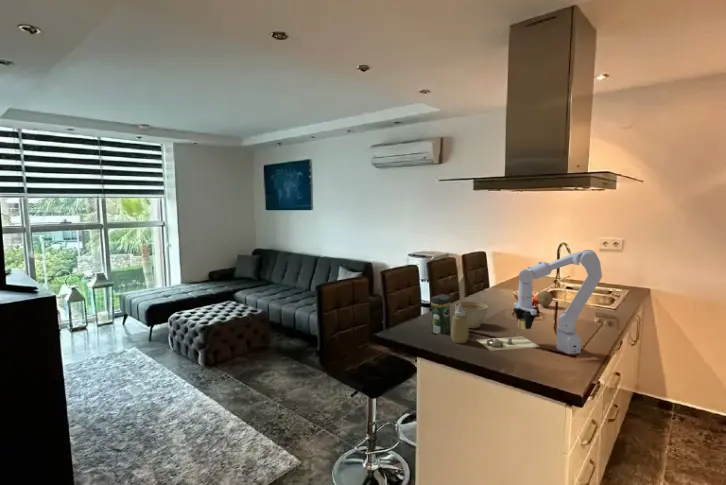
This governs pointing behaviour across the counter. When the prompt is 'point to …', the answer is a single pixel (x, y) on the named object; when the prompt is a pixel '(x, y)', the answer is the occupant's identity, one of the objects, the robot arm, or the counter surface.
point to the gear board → (514, 340)
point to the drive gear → (495, 343)
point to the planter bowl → (473, 312)
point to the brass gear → (521, 323)
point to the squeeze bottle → (459, 326)
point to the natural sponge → (545, 298)
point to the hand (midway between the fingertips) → (524, 326)
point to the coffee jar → (440, 314)
